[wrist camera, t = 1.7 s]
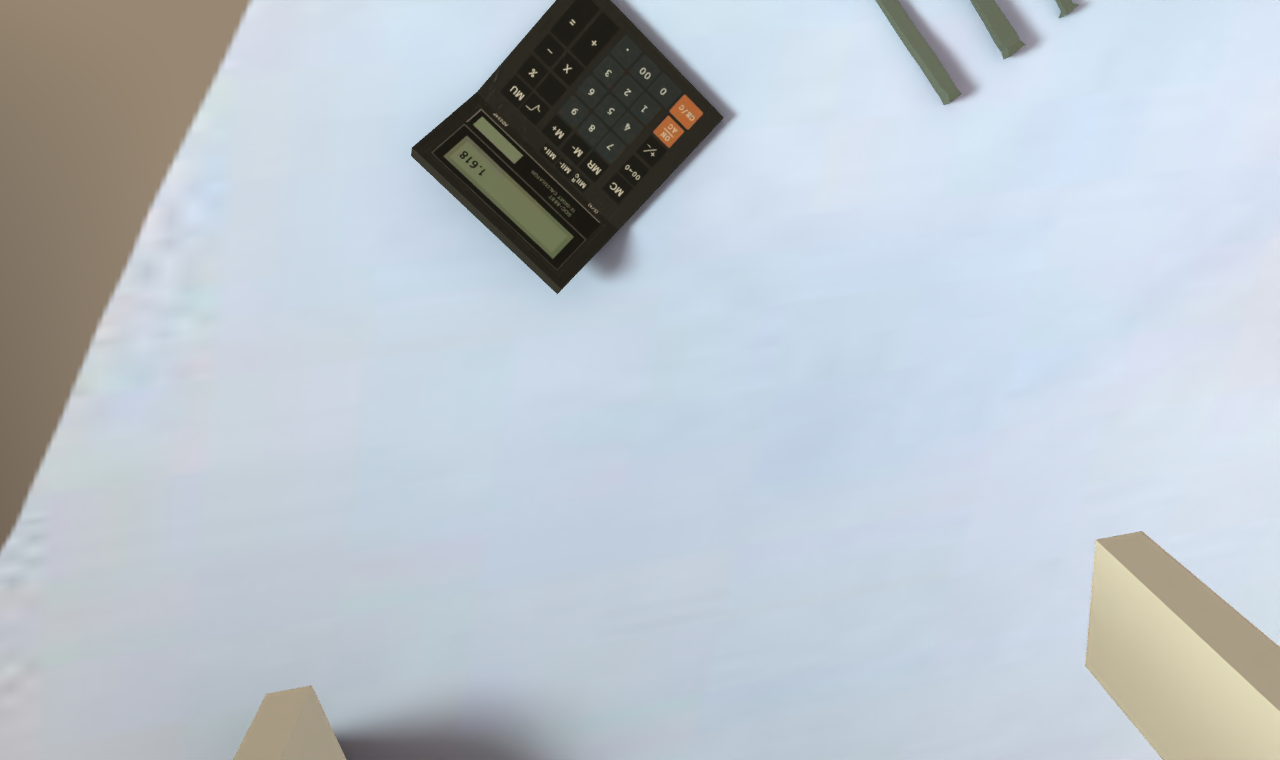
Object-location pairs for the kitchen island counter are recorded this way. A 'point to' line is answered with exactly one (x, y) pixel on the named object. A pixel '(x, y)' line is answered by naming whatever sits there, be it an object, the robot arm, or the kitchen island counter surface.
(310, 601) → the kitchen island counter surface
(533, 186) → the calculator
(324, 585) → the kitchen island counter surface
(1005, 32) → the cutlery set
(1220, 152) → the kitchen island counter surface
